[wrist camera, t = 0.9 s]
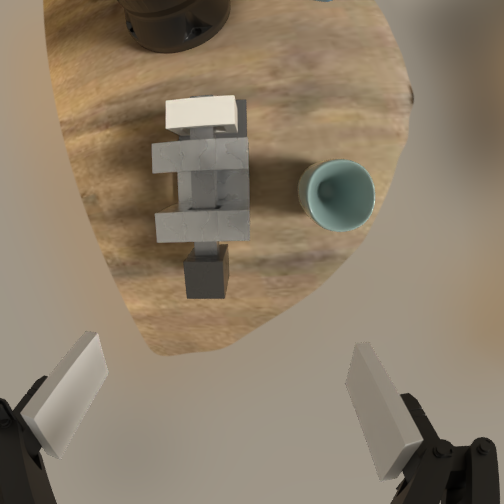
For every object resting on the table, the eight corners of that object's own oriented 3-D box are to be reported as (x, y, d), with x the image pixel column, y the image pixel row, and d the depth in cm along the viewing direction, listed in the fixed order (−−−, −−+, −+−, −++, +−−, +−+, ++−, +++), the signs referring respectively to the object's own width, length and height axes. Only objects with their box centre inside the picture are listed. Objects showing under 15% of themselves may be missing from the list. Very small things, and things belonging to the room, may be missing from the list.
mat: (179, 104, 36) (178, 103, 35) (246, 100, 36) (246, 99, 35) (179, 146, 37) (179, 146, 37) (247, 143, 37) (246, 142, 37)
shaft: (191, 106, 32) (177, 92, 25) (224, 104, 32) (218, 88, 25) (197, 275, 37) (186, 298, 31) (229, 275, 37) (224, 298, 31)
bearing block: (178, 146, 37) (151, 138, 27) (248, 143, 37) (247, 132, 27) (181, 226, 40) (157, 247, 29) (250, 225, 40) (249, 245, 29)
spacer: (181, 112, 33) (165, 100, 26) (237, 109, 33) (234, 95, 26) (181, 135, 34) (165, 128, 27) (237, 132, 34) (234, 123, 27)
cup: (295, 221, 40) (309, 237, 30) (289, 163, 38) (301, 161, 28) (350, 214, 40) (378, 228, 30) (344, 158, 38) (373, 156, 28)
